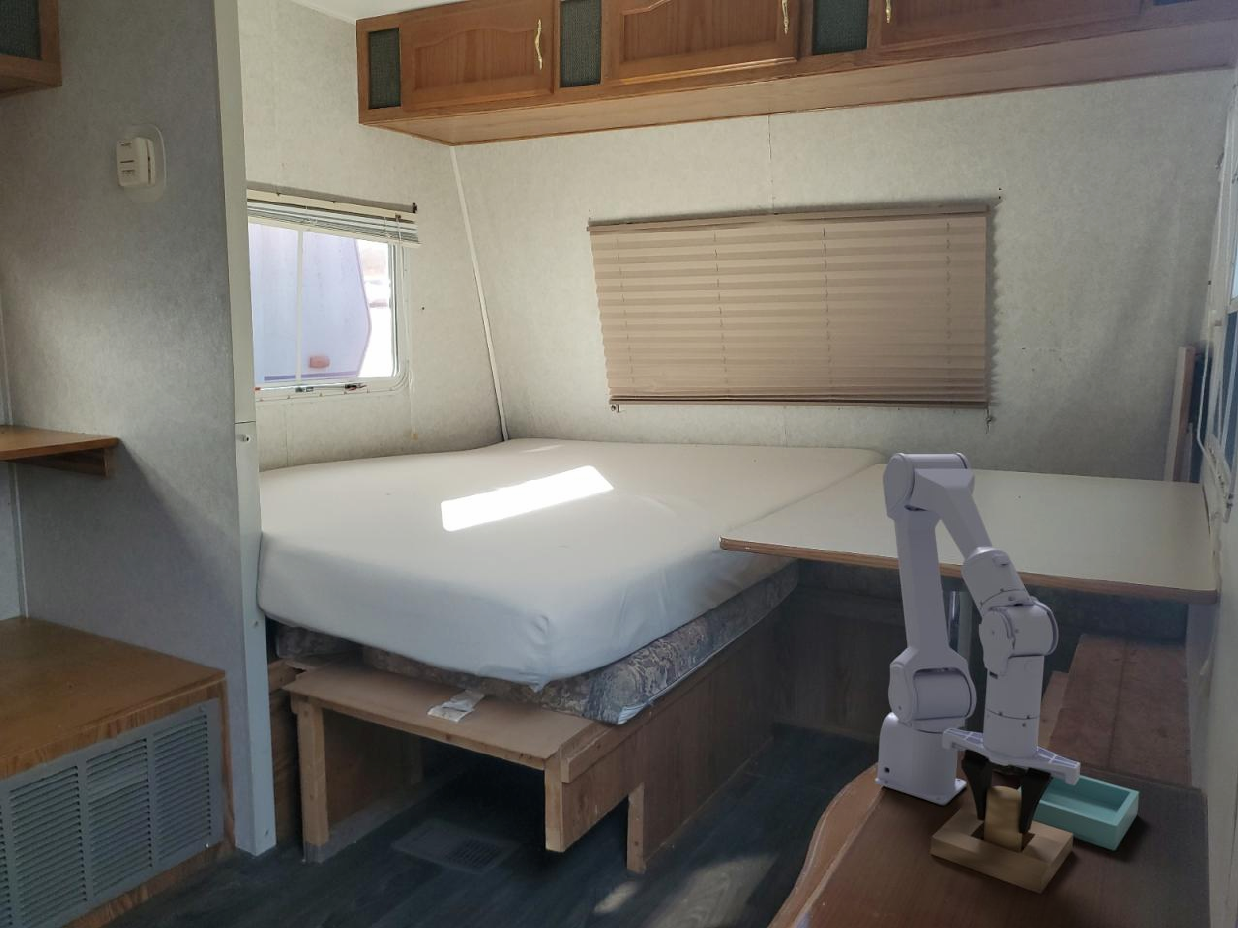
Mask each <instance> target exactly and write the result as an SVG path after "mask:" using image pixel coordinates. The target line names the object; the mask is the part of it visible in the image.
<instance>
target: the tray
mask: <svg viewBox="0 0 1238 928" xmlns="http://www.w3.org/2000/svg"><path fill="white" fill-rule="evenodd" d="M1017 790H1018V791H1020V792H1021V786H1020V787H1019V788H1018V789H1017ZM1139 796H1140V791H1139V790H1135V789H1130V788H1127V787H1124V786H1120V785H1116V784H1113V783H1111V782H1106V781H1102V780H1099V779H1095V778H1091V777H1088V776H1085V775H1082V774H1080V776H1079V780H1078V782H1077V783H1076V784H1075V785H1072V784H1068V783H1065V780H1063V779H1059V778H1056V777H1054V778H1053V779H1052V781H1051V782H1050V784H1049V786H1048V787H1047V789H1046V790H1045V792H1044V794H1043V796H1042V798H1041V800H1040V802H1039V804H1038V806H1037V808H1036V811H1035V813H1034V816H1033V821H1036V822H1039V823H1042V824H1045V825H1048V826H1051V827H1054V828H1057V829H1061V830H1064V831H1067V832H1070V833H1073V839H1074V838H1075V839H1077V840H1081V841H1084V842H1087V843H1090V844H1093V845H1096V846H1099V847H1103V848H1106V849H1109V850H1111V851H1114V852H1115V851H1116V850H1117V848H1118V847H1119V845H1120V844H1121V841H1122V840H1123V838H1124V837H1125V835H1126V833H1127V832H1128V830H1129V829H1130V827H1131V825H1132V824H1133V822H1134V820H1135V819H1136V817H1137V815H1138V812H1139V811H1138V809H1139V798H1140V797H1139Z"/></svg>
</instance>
